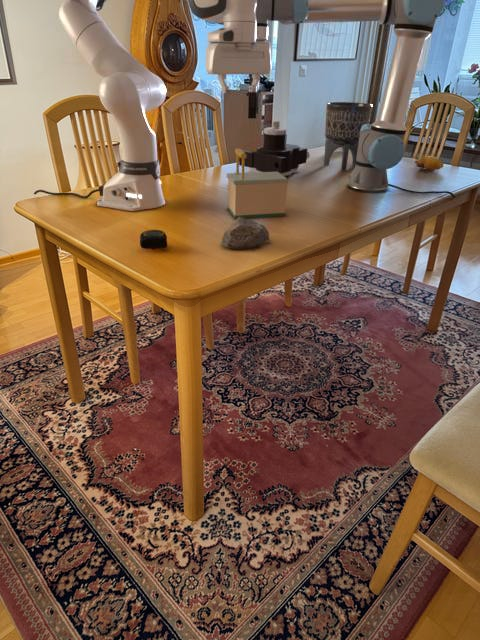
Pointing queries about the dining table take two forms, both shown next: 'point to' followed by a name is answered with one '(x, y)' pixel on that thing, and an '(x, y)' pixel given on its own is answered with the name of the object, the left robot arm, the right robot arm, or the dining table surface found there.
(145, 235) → the tape measure
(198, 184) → the dining table surface
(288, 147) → the mechanical component
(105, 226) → the dining table surface
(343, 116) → the planter
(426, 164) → the toy
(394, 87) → the right robot arm
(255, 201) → the chest
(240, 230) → the rock
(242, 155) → the lid
